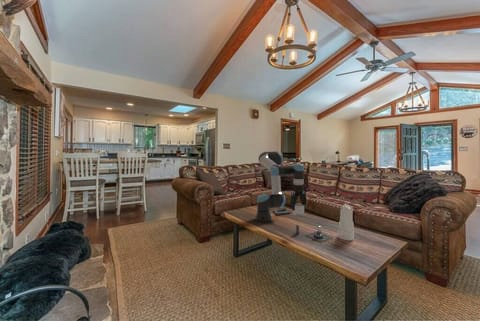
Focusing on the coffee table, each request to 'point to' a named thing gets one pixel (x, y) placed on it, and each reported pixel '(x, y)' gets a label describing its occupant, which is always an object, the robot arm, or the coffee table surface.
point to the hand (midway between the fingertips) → (298, 213)
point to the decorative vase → (346, 223)
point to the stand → (297, 231)
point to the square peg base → (319, 235)
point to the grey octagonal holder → (299, 208)
